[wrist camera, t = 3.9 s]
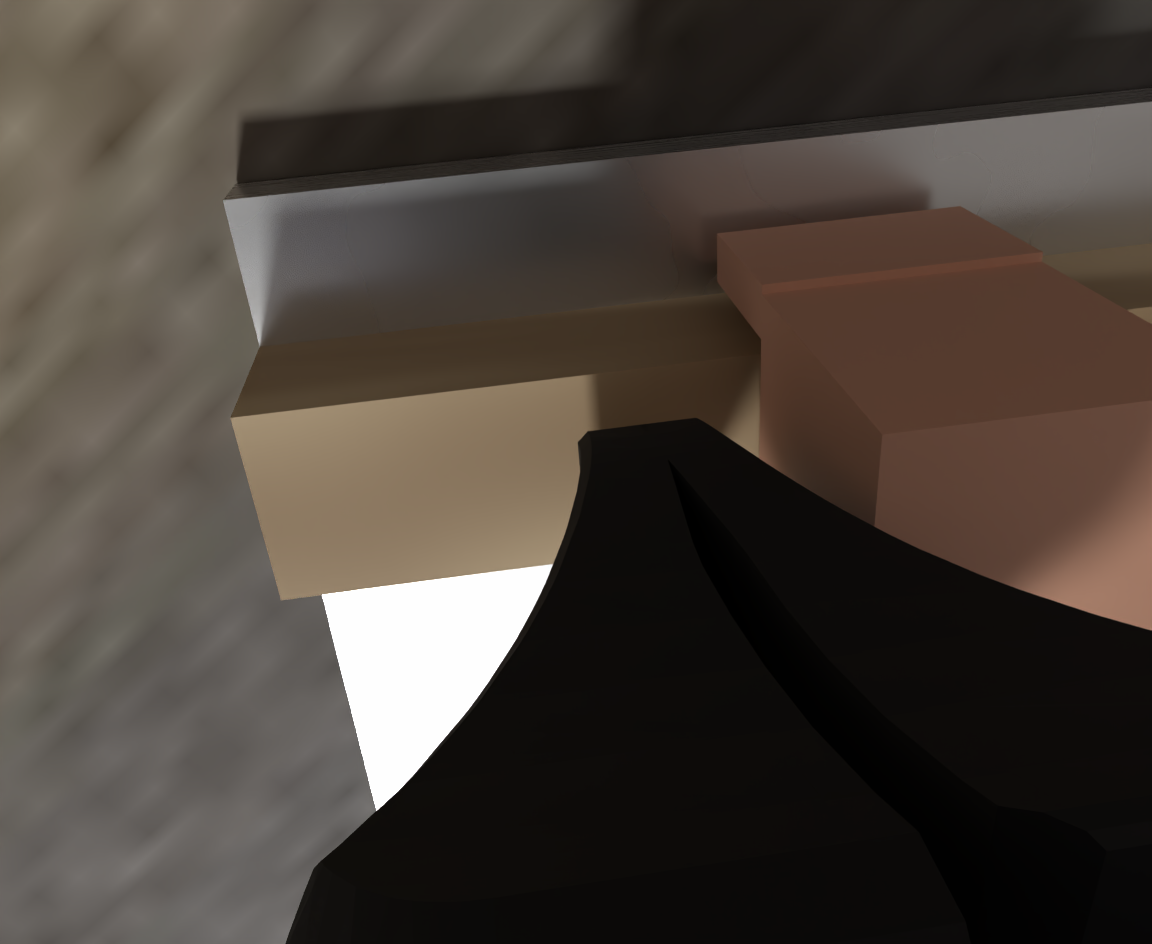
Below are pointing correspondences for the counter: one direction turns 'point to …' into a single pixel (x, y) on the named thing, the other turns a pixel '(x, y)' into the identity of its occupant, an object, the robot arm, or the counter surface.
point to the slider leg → (957, 397)
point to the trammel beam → (497, 426)
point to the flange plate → (624, 293)
